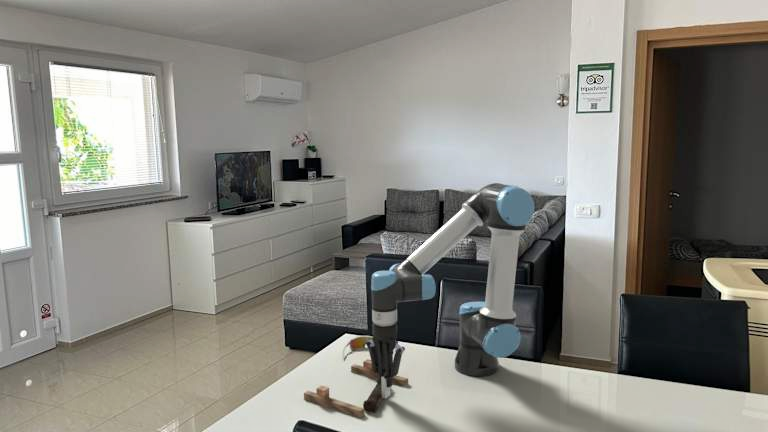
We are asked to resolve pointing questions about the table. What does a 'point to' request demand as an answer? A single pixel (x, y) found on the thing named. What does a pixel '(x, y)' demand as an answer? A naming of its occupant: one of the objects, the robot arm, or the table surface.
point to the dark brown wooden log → (373, 398)
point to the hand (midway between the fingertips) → (386, 395)
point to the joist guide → (325, 400)
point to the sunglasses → (358, 342)
